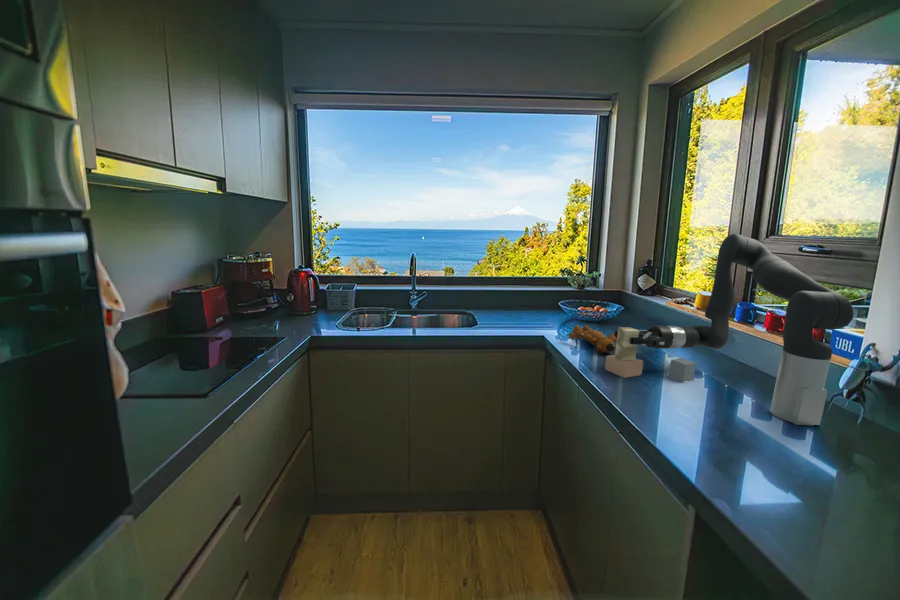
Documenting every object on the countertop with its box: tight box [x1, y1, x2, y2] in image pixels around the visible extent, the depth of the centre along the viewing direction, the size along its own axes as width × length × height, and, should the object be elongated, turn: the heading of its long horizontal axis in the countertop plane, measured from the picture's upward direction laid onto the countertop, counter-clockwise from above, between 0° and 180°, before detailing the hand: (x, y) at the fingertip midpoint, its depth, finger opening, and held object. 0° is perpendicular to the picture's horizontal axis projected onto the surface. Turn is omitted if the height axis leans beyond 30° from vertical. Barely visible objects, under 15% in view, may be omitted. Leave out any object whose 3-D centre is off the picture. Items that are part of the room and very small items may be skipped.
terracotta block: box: [604, 354, 644, 379], centre depth 131 cm, size 8×8×5 cm
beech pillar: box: [614, 326, 639, 361], centre depth 130 cm, size 4×4×10 cm
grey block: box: [668, 357, 697, 383], centre depth 127 cm, size 5×5×6 cm
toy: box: [569, 324, 617, 354], centre depth 161 cm, size 20×7×30 cm
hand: (622, 337), depth 129 cm, fingers open, 8 cm apart
